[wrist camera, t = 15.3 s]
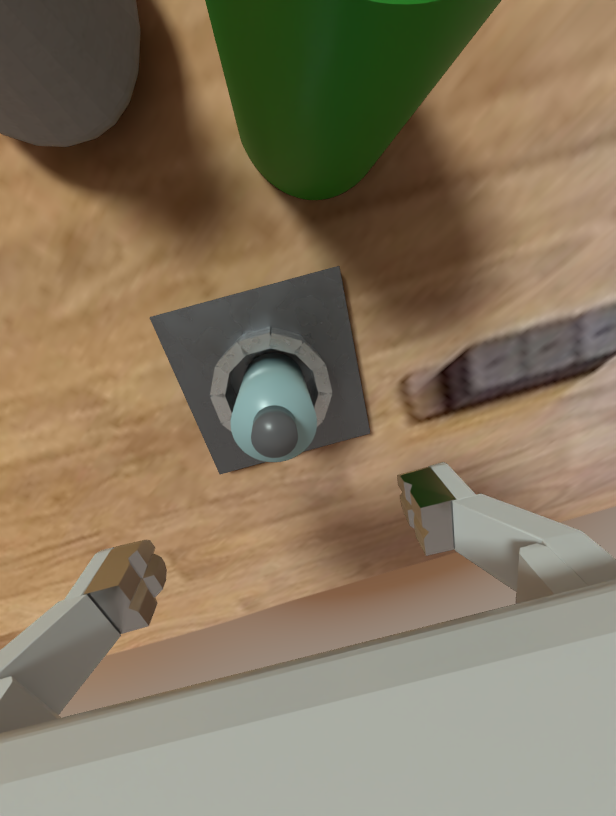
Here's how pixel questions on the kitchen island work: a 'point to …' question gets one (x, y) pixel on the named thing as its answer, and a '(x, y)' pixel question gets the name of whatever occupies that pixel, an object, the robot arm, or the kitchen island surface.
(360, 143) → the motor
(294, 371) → the capped teal cylinder
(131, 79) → the coffee pot
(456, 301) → the kitchen island surface
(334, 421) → the motor mount
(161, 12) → the kitchen island surface
